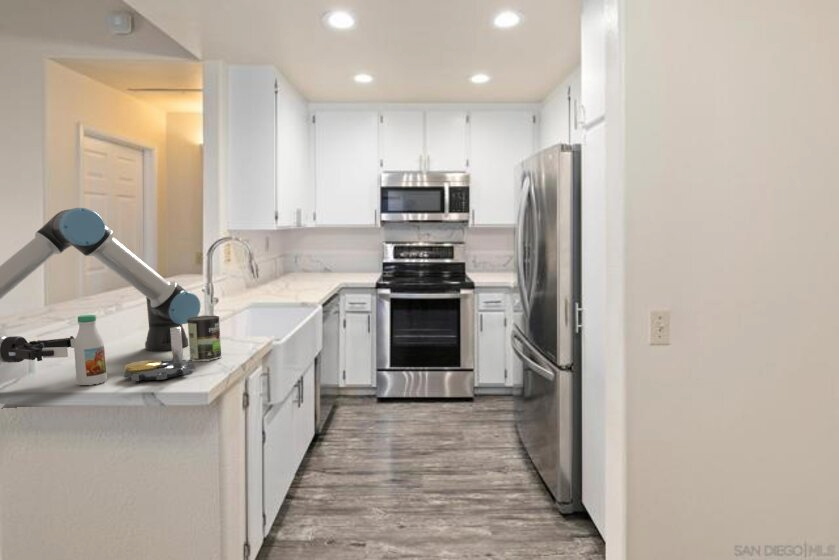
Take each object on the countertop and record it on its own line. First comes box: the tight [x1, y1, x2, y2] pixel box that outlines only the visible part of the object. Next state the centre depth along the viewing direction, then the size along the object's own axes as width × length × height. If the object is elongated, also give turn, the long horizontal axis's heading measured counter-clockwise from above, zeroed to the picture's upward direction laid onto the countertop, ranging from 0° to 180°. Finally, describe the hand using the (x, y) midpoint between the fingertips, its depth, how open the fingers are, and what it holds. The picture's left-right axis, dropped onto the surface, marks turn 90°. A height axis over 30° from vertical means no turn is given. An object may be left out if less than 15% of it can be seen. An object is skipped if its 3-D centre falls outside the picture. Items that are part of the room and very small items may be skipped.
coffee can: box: [187, 315, 223, 362], centre depth 202 cm, size 10×10×14 cm
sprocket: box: [123, 327, 196, 382], centre depth 180 cm, size 20×20×14 cm
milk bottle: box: [73, 314, 108, 386], centre depth 173 cm, size 8×8×20 cm
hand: (80, 347), depth 173 cm, fingers open, 13 cm apart
